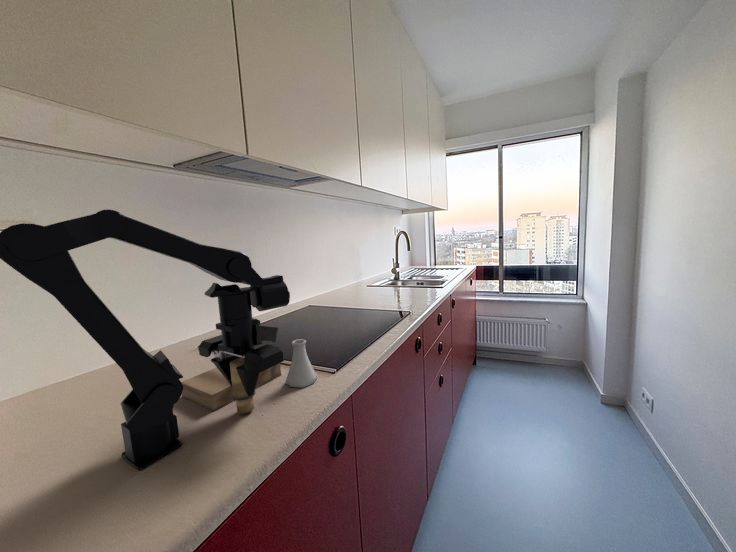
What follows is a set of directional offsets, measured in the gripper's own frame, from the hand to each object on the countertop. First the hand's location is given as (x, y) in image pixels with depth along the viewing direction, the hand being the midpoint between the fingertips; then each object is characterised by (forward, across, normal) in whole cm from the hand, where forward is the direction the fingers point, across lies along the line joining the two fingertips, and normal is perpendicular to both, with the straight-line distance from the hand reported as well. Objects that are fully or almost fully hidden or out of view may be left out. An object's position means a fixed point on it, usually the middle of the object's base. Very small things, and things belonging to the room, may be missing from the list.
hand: (243, 392), depth 61 cm
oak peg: (+4, 0, 0) cm, 4 cm away
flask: (+4, -1, -15) cm, 16 cm away
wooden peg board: (+4, +12, -6) cm, 14 cm away
